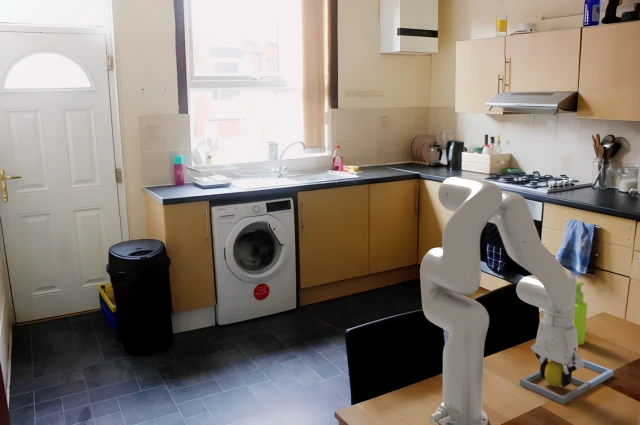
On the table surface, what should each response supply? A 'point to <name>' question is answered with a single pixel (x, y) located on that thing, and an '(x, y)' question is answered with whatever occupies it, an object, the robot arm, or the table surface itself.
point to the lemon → (554, 373)
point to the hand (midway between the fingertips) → (555, 380)
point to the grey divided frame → (582, 384)
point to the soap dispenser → (580, 314)
